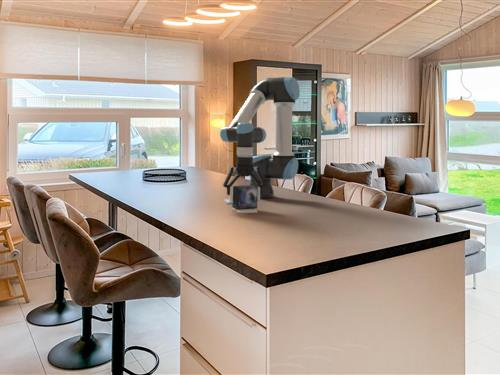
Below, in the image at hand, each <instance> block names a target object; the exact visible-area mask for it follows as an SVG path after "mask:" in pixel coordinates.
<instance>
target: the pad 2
mask: <svg viewBox="0 0 500 375" xmlns="http://www.w3.org/2000/svg"><path fill="white" fill-rule="evenodd" d="M231 209H233V210H234V211H235V212H237V213H238V214H248V213H249V214H250V213H251V214H252V213H258V210H257V208H255V209H235V208H233V207H232V206H231Z"/></svg>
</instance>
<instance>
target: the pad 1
mask: <svg viewBox="0 0 500 375" xmlns="http://www.w3.org/2000/svg"><path fill="white" fill-rule="evenodd" d="M222 200H223V202H224V203H225V204H226V205H233V198H232V202H231V203H230V202H229V198H228V199H227V198H226V199H225V198H224V199H222Z"/></svg>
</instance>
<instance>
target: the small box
mask: <svg viewBox="0 0 500 375" xmlns="http://www.w3.org/2000/svg"><path fill="white" fill-rule="evenodd" d="M232 199H233V204H231V205H232V206H231V208H232V207H233V208H235V209H258V201H257V200H258V187H256V186H254V185H250V184H249V185H244V184H243V185H232ZM233 208H232V209H233Z"/></svg>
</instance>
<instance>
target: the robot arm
mask: <svg viewBox="0 0 500 375" xmlns="http://www.w3.org/2000/svg"><path fill="white" fill-rule="evenodd" d="M300 94H301V89H300V85H299V82H298V81H297V79H296V78H295V77H292V76H283V77H267V78H264V79H262V80H261V81H259V82H257V84H255V85H254V86H253V87H252V88H251V90H250V91H249V93H248V98H246V100H245V102H244V103H243V105H242V107H240V109H239V111H238V113H237V114H236V115H235V117H234V119H233V120H232V121H231V123H230V124H229V126H224V127H223V126H222V128H221V129H220V133H219V137H220V138H221V141H223V142H224V143H236V155H237V156H236V167H235V166H230V167H229V172H228V174H227V176H226V178H225V180H224V182H223V183H222V186H223V187H224V188H226V195H227V196H228V199H229V202H230V203H231V202H232V199H233V186H234V184H235V182H236V181H238V179H239V178H240V177H241V178H243V177H249V181H250V182H249V185H254V186H256V187H258V200H257V203H258V202H259V203H260V202H261V199H271V198H275V192H274V188H273V185H272V179H273V180H285V181H286V180H288V181H290V180H292V179H294V178H295V177H296V175H297V173H298V170H299V161H298V159H297V158H295V154H294V152H293V151H292V145H293V144H292V143H293V141H292V139H293V137H292V136H293V106H294V105H295V104H296V100H299V97H300ZM266 101H273V102H272V104H274V106H275V151H274V153H273V154H261V155H254V144H260V143H263V142H264V141H265V140H266V139H267V132H266V130H265V128H263V127H261V126H254V124H253V123H252V122H251V121H252V119H253V118H254V116H255V114H256V113H257V112H258V110H259V108H260V107H261V106H263V105H264V104H265V102H266ZM253 155H254V156H253ZM235 171H236V174H235V175H234V176H233V177H232V175H233V174H234V173H235ZM231 178H232V179H231ZM231 187H232V188H231Z"/></svg>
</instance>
